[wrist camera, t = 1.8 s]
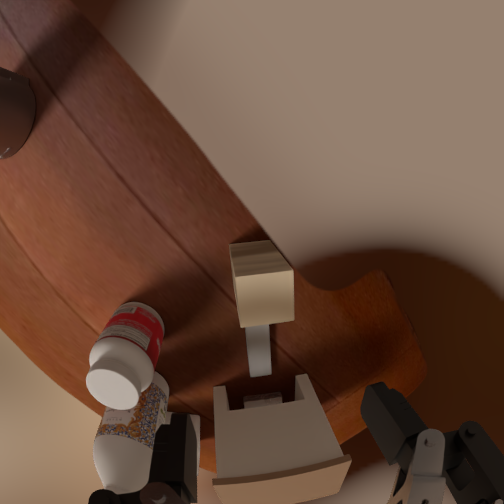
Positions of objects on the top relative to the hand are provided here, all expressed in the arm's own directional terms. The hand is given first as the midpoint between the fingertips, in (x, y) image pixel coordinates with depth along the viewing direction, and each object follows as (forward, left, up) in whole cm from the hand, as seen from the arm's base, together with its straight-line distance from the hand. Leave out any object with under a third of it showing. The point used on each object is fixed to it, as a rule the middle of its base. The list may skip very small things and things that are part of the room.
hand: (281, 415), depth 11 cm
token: (+20, +1, -19) cm, 28 cm away
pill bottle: (+5, -12, -19) cm, 23 cm away
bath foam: (+14, -14, -19) cm, 27 cm away
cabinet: (+19, +1, -19) cm, 26 cm away
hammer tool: (+5, +1, -19) cm, 19 cm away
